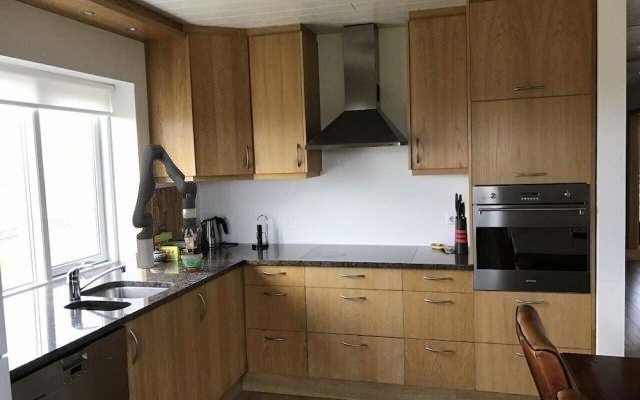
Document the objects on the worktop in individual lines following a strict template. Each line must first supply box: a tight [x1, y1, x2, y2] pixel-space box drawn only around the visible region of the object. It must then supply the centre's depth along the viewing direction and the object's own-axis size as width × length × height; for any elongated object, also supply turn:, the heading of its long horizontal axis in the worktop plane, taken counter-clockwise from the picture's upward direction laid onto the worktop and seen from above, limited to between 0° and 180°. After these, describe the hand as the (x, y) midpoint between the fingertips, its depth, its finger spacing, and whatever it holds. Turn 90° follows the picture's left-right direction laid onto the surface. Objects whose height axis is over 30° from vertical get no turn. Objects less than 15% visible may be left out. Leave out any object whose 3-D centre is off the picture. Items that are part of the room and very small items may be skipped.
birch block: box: [184, 236, 198, 250], centre depth 296 cm, size 4×4×6 cm
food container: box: [180, 252, 204, 274], centre depth 297 cm, size 12×6×10 cm, turn 105°
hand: (191, 246), depth 297 cm, fingers closed on birch block, 4 cm apart
